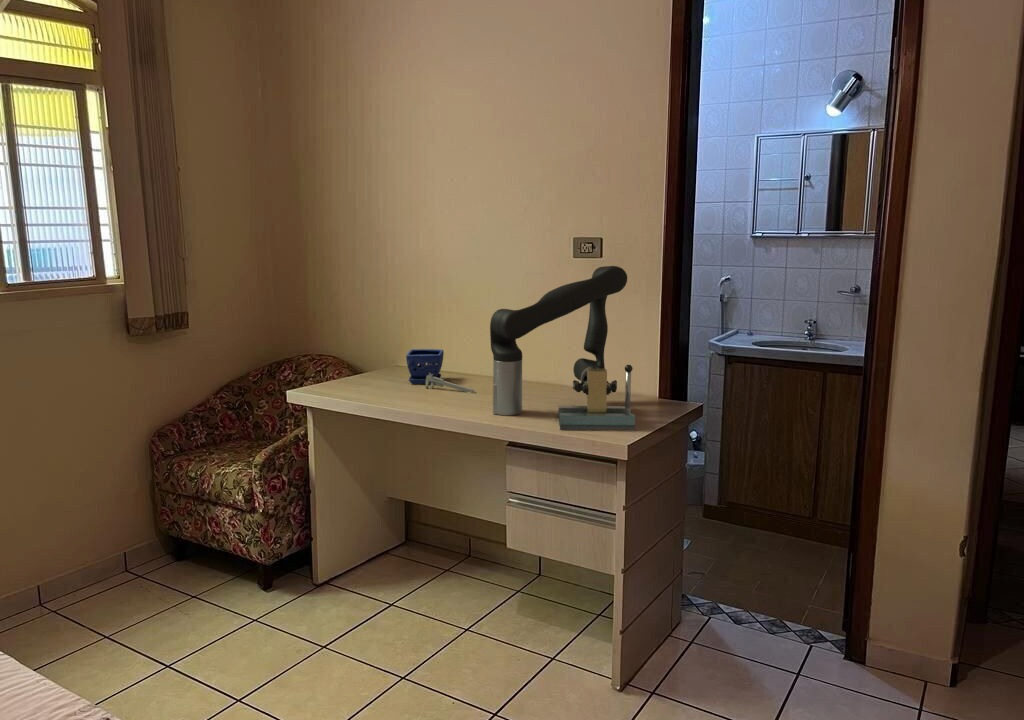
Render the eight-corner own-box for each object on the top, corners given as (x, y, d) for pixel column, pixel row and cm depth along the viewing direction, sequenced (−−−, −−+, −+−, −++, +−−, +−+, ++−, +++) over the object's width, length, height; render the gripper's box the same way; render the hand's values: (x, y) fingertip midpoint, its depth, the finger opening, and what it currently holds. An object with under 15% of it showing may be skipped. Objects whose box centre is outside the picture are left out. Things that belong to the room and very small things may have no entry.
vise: (558, 417, 248) (558, 404, 247) (628, 417, 247) (628, 404, 247) (560, 430, 232) (560, 416, 231) (635, 430, 231) (635, 416, 231)
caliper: (425, 389, 292) (425, 372, 290) (427, 388, 292) (426, 372, 291) (475, 394, 284) (475, 376, 283) (476, 393, 284) (476, 376, 283)
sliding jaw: (558, 414, 246) (559, 363, 243) (630, 414, 246) (632, 364, 243) (558, 416, 243) (559, 365, 240) (632, 417, 242) (633, 366, 239)
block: (586, 413, 240) (587, 368, 237) (604, 414, 240) (605, 368, 237) (587, 417, 236) (588, 371, 233) (606, 417, 236) (607, 371, 233)
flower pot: (441, 385, 297) (440, 354, 295) (406, 385, 298) (405, 354, 296) (444, 379, 310) (444, 349, 309) (410, 378, 311) (410, 348, 309)
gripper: (570, 368, 250) (573, 379, 233) (616, 368, 250) (622, 379, 233) (570, 391, 251) (573, 403, 235) (615, 391, 251) (621, 403, 234)
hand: (597, 391), depth 234 cm, fingers closed on block, 5 cm apart
